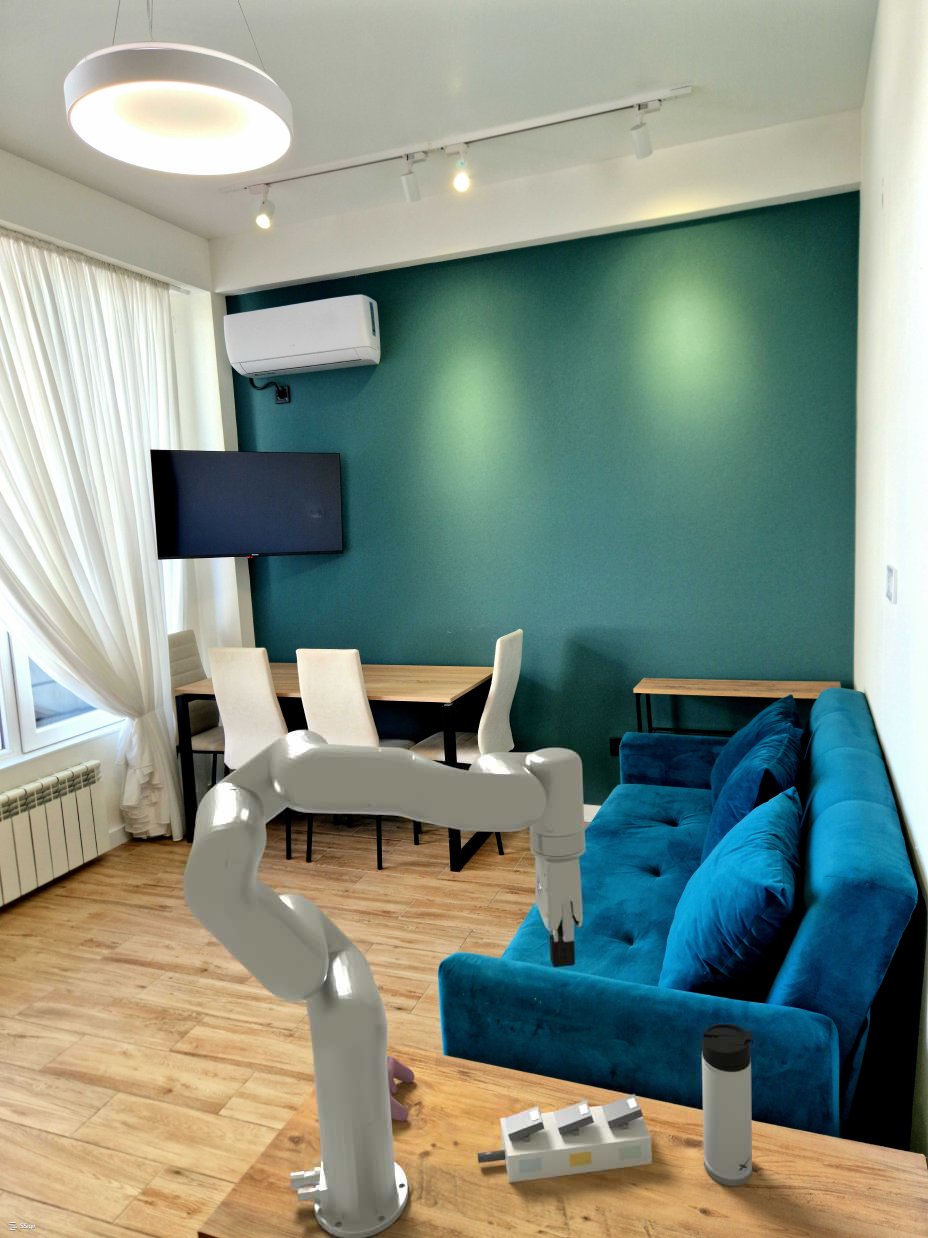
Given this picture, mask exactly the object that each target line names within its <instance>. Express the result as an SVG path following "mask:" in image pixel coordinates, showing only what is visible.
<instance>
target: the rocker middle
mask: <svg viewBox="0 0 928 1238" xmlns="http://www.w3.org/2000/svg"><path fill="white" fill-rule="evenodd" d="M589 1107H590V1106H589V1103H588V1101H587V1099H585V1100H582V1101H580V1102H577V1103H574V1104H572V1105H569V1106H567V1107H564V1108H561V1109H559V1110H556V1112H555V1111H552V1112H553V1113H554V1116H555V1120H556V1123H557V1127H558V1130H559V1133H560V1135H563V1134H565V1133H568V1132H571V1131H573V1130H576V1129H579V1128H581V1127H584V1126H586V1125H589V1124H592V1123H594V1120H593V1118H592V1115H591V1112H590V1109H589Z"/></svg>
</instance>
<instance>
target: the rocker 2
mask: <svg viewBox="0 0 928 1238" xmlns="http://www.w3.org/2000/svg"><path fill="white" fill-rule="evenodd" d="M601 1106H602V1109H603V1112H604V1115H605V1118H606V1120H607V1123H608V1126H609V1128H610V1129H611V1128H614V1127H616V1126H619V1125H622V1124H624V1123H627V1122H630V1121H632V1120H635V1119H638V1118H640V1117H644V1115H643V1112H642V1108H641V1106H640V1104H639V1102H638V1099H637V1097H636V1095H635V1093H633V1094H631V1095H627V1096H625V1097H623V1098H620V1099H618V1100H615V1101H611V1102H610V1103H607V1104H604V1106H603V1105H601Z"/></svg>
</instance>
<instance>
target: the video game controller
mask: <svg viewBox="0 0 928 1238" xmlns="http://www.w3.org/2000/svg"><path fill="white" fill-rule="evenodd" d="M387 1071H388V1085H389V1095H390V1108H391V1120H395V1121H398V1122H405V1121H406V1120H407V1119H408V1118H409V1111H408V1110H407V1108H406V1107H405V1106H404V1105H403V1104H401V1103H400V1102H398V1100H396V1099H395V1098H394V1097H393V1095H394V1094H395V1093H397V1084H396V1081H395V1080H394V1079H396V1080H398V1081H400V1082H401V1083H402V1082H404V1083H412V1082H413V1081H414V1080H415V1078H416V1077H415V1074H414V1072H413V1070H412V1069H411V1068H410V1067H408V1066H407V1065H405V1064H404V1063H402V1062H400V1061H399V1060H398V1059H396V1058H395V1057H394V1056H390V1055H387Z"/></svg>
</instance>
